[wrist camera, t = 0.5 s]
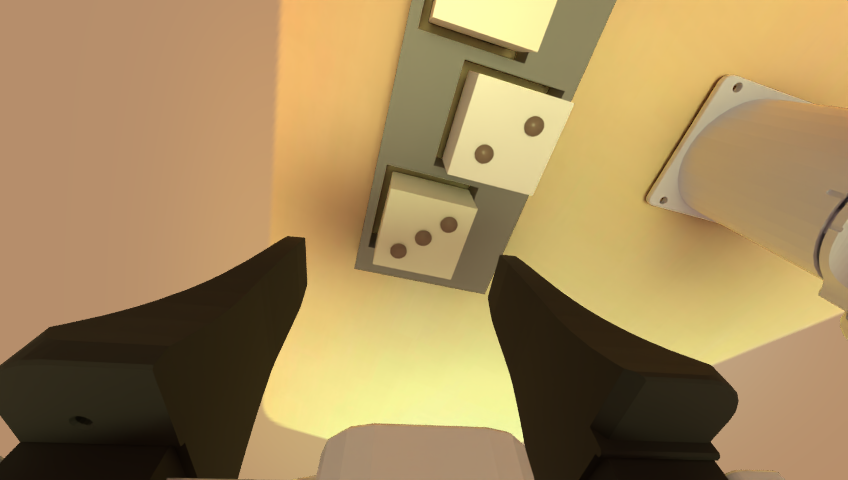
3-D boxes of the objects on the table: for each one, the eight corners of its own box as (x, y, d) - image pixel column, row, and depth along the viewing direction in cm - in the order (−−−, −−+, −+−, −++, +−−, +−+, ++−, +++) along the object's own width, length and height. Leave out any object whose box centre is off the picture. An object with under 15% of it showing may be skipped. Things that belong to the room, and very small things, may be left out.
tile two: (551, 96, 18) (575, 103, 15) (516, 178, 20) (533, 196, 17) (468, 70, 17) (479, 73, 14) (441, 158, 19) (447, 174, 16)
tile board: (634, -88, 16) (664, -106, 14) (478, 277, 25) (484, 294, 23) (448, -171, 14) (454, -202, 12) (358, 252, 24) (354, 268, 22)
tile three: (468, 190, 20) (478, 210, 17) (445, 254, 22) (451, 281, 20) (392, 170, 19) (390, 189, 17) (376, 239, 21) (372, 265, 19)
